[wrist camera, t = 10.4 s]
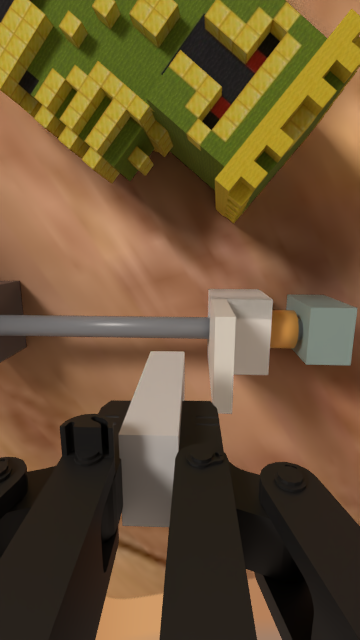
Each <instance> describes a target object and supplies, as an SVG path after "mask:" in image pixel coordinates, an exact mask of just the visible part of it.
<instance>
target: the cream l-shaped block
mask: <svg viewBox="0 0 360 640" xmlns="http://www.w3.org/2000/svg"><path fill="white" fill-rule="evenodd" d="M272 308H273V299H271V298H270V297H269V296H267V295H266V294H264V293H263V292H262V291H260V290H259V289H209V291H208V317H210V334H209V339H208V340H207V353H208V364H209V375H210V386H211V397H212V404H213V405H214V406H215V407H216V408H217V410H218V413H222V414H232V402H233V376H234V374H237V375H268V371H269V355H270V339H271V323H272Z"/></svg>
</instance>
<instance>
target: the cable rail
mask: <svg viewBox="0 0 360 640" xmlns="http://www.w3.org/2000/svg"><path fill="white" fill-rule="evenodd" d="M356 315H357V308H356V307H353V306H351V305H348V304H346V303H343V302H341V301H338V300H336V299H333V298H330V297H328V296H325V295H287V308H286V310H272V323H271V339H270V348H292V350H293V351H294V352H295V353H296V354H297V355H298V356H299V357H300V358H301V359H302V361H303V362H304V363H305V364H306V365H351V357H352V349H353V340H354V332H355V324H356ZM209 334H210V317H136V316H55V315H23V308H22V298H21V289H20V281H0V362H2V361H4V360H5V359H7V358H9V357H10V356H12V355H14V354H16V353H17V352H19V351H21V350H22V349H24V348H26V347H27V346H26V337H25V336H60V337H124V338H189V339H209Z"/></svg>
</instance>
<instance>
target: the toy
mask: <svg viewBox="0 0 360 640" xmlns="http://www.w3.org/2000/svg"><path fill="white" fill-rule="evenodd" d="M359 35H360V16H359V15H358V14H357V13H356V12H355V11H354V10H353V9H351V10H350V11H349V13H348V14H347V15H346V16H345V18H344V19H343V20H342V21H341V23H340V24H339V25H338V26H337V28H336V29H335V30H334V31H333V32H332V34H331V35H330V36H329V37H328V39H327V38H326V37H325V36H324V35H323V34H322V33H321V32H320V31H318V30H317V29H316V28H315V27H314V26H313V25H312V24H311V23H310V22H308V21H307V20H306V19H305V18H304V17H303V16H302V15H301V14H300V13H299V12H297V11H296V10H295V9H294V8H293V7H292V6H291V5H290V4H289V3H287V2H286V1H285V0H0V90H1V91H2V92H3V93H5V94H6V95H7V96H8V97H10V98H11V99H12V100H13V101H15V102H16V103H17V104H19V105H20V106H21V107H22V108H23V109H24V110H26V111H27V112H28V113H29V114H30V115H31V116H33V117H34V119H35V120H36V121H37V122H39V123H40V124H41V125H42V126H43V127H44V128H46V129H47V130H48V131H49V132H51V133H52V134H53V135H55V136H56V137H57V138H58V140H59V141H61V142H62V143H63V144H64V145H65V146H66V147H67V148H69V149H70V150H71V151H72V152H74V153H75V154H76V155H78V156H79V157H80V158H82V159H81V160H82V161H84V162H85V163H86V164H87V165H88V166H89V167H91V168H92V169H93V170H94V171H96V172H97V173H98V174H100V175H101V176H102V177H104V178H105V179H106V180H108V181H109V182H110V183H113V182H114V180H115V179H116V178H117V176H118V175H119V174H122V175H123V176H124V177H125V178H126V179H128V180H129V181H131V180H132V178H133V177H134V175H135V174H136V173H137V171H138V170H139V171H140V172H141V173H142V174H143V175H145V176H146V175H147V173H148V172H149V171H150V169H151V168H152V167H153V165H154V164H153V163H152V161H151V160H150V158H149V155H150V154H151V153H152V151H153V150H154V151H156V152H159V153H160V154H161V155H163V156H164V157H165V156H166V155H167V154H168V152H169V151H170V152H171V153H172V154H174V155H175V156H176V157H177V158H178V159H179V160H180V161H182V162H183V163H184V164H185V165H186V166H187V167H188V168H190V169H191V170H192V171H193V172H194V173H195V174H196V175H198V176H199V177H200V178H201V179H202V180H203V181H204V182H206V183H207V184H208V185H209V186H210V187H211V188H212V189H214V190H215V204H216V210H217V211H218V212H219V213H220V214H221V215H223V216H224V217H227V218H228V219H229V220H230V221H231V222H232V223H233V224H234V223H235V221H236V220H237V219H238V218H239V217H240V216H241V215H242V214H243V213H244V211H245V210H246V209H247V208H248V207H249V205H250V204H251V203H252V201H253V200H254V199H255V198H256V197H257V196H258V195H259V194H260V192H261V191H262V190H263V189H264V188H265V186H266V185H267V184H268V182H269V181H270V180H271V179H272V178H273V176H274V175H275V174H276V173H277V172H278V171H279V169H280V168H281V167H282V166H283V165H284V164H285V163H286V162H287V160H288V159H289V158H290V157H291V155H292V154H293V153H294V152H295V150H296V149H297V148H298V147H299V146H300V145H301V144H302V143H303V142H304V140H305V139H306V138H307V137H308V135H309V134H310V133H311V131H312V130H313V129H314V128H315V127H316V126H317V124H318V123H319V122H320V121H321V119H322V118H323V117H324V115H325V113H326V112H327V111H328V110H329V108H330V107H331V106H332V104H333V102H334V101H335V100H336V99H337V97H338V96H339V95H340V93H341V92H342V91H343V89H344V87H345V86H346V85H347V83H348V82H349V81H350V80H351V79H352V77H353V76H354V74H355V73H356V72H357V71H356V70H357V69H358V68H359V67H360V37H359Z"/></svg>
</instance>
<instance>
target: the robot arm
mask: <svg viewBox="0 0 360 640" xmlns="http://www.w3.org/2000/svg"><path fill="white" fill-rule="evenodd" d="M184 376H185V352H175V351H151V352H150V354H149V357H148V360H147V362H146V365H145V367H144V370H143V372H142V375H141V378H140V380H139V383H138V385H137V388H136V391H135V393H134V396H133V398H132V401H110V402H109V403H107V404H106V405H104V406H103V407H102V408H101V410H100V411H99V413H98V414H85V415H80V416H77V417H73V418H71V419H69V420H67V421H65V422H64V423H63V424H62V425H61V426H60V435H61V446H62V458H61V459H60V461H59V463H58V464H57V466H54V467H50V468H46V469H41V470H35V471H30V472H27V467H26V464H25V463H24V461H23V460H21V459H19V458H16V457H1V458H0V640H95V638H96V634H97V630H98V625H99V622H100V617H101V613H102V609H103V605H104V601H105V597H106V593H107V589H108V585H109V580H110V576H111V572H112V568H113V564H114V560H115V556H116V552H117V548H118V543H119V533H118V524H119V520H120V516H121V513H122V524H123V526H147V527H169V536H168V548H167V560H166V571H165V583H164V595H163V606H162V618H161V630H160V640H257V637H256V631H255V624H254V618H253V612H252V606H251V599H250V593H249V587H248V580H247V574H246V569H248V570H251V571H254V572H255V576H256V580H257V582H258V585H259V587H260V589H261V592H262V594H263V596H264V599H265V601H266V603H267V606H268V608H269V610H270V612H271V615H272V617H273V619H274V622H275V624H276V626H277V628H278V631H279V633H280V636H281V638H282V640H360V526H359V525H358V524H357V523H356V522H355V520H354V519H353V518H352V517H351V516H350V515H349V514H348V512H347V511H346V510H345V509H344V508H343V507H342V506H341V504H340V503H339V502H338V501H337V500H336V499H335V498H334V497H333V495H332V494H331V493H330V492H329V491H328V490H327V489H326V487H325V486H324V485H323V484H322V483H321V482H320V481H319V479H318V478H317V477H316V476H315V475H314V474H312V473H311V472H310V471H309V470H307V469H305V468H303V467H301V466H299V465H296V464H292V463H288V462H275V463H272V464H269V465H267V466H265V467H264V468H263V469H262V470H261V474H260V475H258V474H254V473H250V472H247V471H244V470H241V469H239V468H237V467H235V466H234V465H233V464H231V463H230V462H229V461H228V458H227V456H226V454H225V453H224V451H223V444H222V437H221V431H220V425H219V418H218V410H217V408H216V407H215V406H214V405H213V404H212V402H211V401H184Z"/></svg>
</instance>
